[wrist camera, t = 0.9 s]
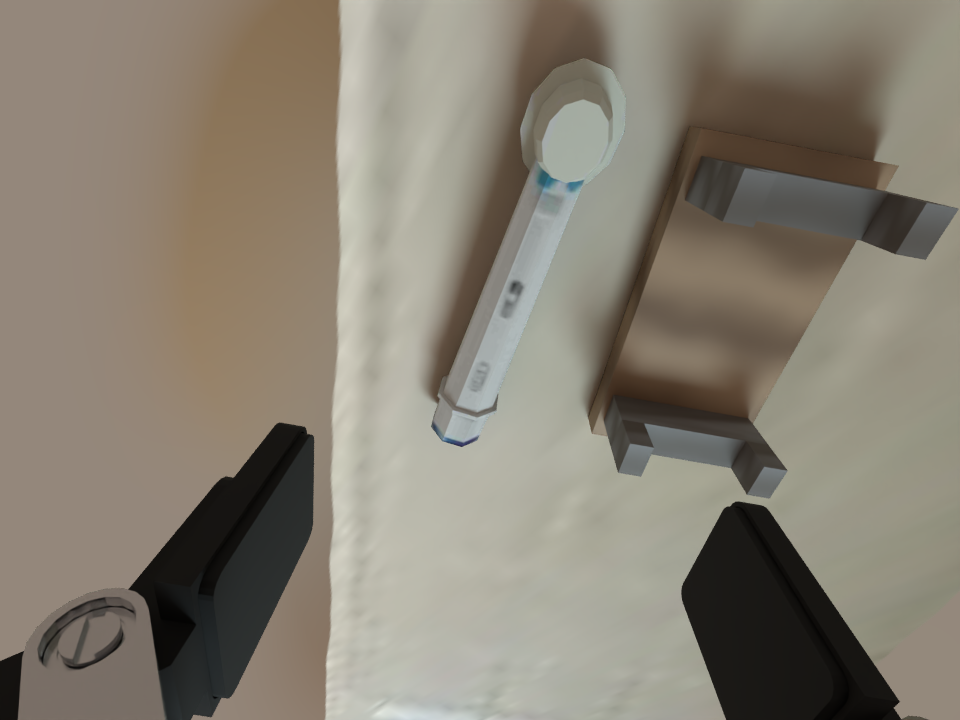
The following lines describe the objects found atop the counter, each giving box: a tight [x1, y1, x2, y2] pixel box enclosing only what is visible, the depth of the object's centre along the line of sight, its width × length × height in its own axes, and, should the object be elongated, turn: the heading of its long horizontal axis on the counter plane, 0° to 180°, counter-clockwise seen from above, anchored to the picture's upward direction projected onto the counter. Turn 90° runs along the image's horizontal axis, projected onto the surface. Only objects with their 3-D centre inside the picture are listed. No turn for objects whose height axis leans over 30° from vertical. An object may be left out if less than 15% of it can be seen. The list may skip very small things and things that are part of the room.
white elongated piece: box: [431, 58, 626, 447], centre depth 30 cm, size 5×7×25 cm
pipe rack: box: [588, 126, 958, 498], centre depth 29 cm, size 21×11×8 cm, turn 171°
